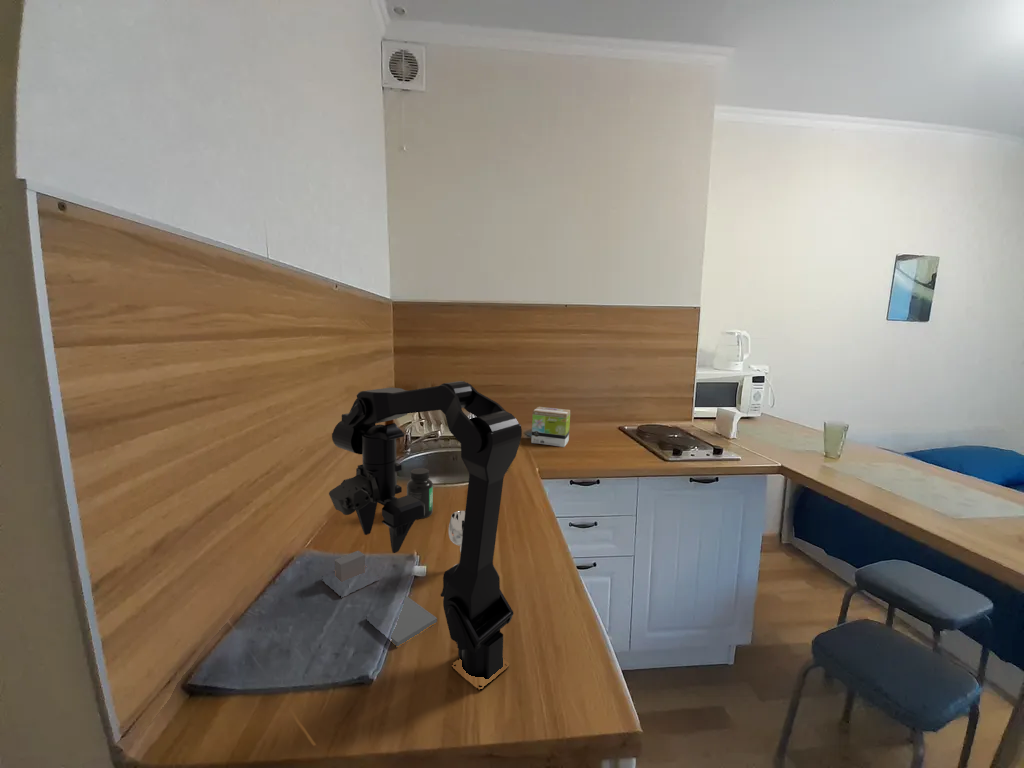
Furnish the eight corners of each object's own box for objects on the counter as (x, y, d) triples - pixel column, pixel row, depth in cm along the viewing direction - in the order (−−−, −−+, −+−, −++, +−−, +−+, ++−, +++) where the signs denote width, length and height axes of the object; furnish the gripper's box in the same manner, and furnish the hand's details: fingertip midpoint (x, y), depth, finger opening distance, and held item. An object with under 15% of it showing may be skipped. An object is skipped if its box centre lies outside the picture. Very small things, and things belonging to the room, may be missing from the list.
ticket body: (437, 624, 76) (437, 617, 76) (397, 649, 70) (397, 641, 70) (405, 600, 82) (405, 594, 82) (366, 621, 76) (366, 614, 76)
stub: (379, 580, 88) (379, 557, 87) (341, 598, 82) (340, 573, 81) (358, 565, 93) (358, 543, 93) (321, 581, 87) (320, 557, 87)
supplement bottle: (437, 514, 119) (437, 471, 117) (415, 521, 114) (415, 477, 113) (424, 506, 124) (424, 465, 122) (402, 512, 119) (401, 470, 118)
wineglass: (462, 558, 97) (462, 507, 96) (481, 568, 94) (482, 515, 92) (442, 569, 93) (442, 515, 91) (461, 580, 89) (462, 524, 88)
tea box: (530, 443, 190) (531, 410, 188) (536, 438, 199) (537, 406, 197) (565, 447, 186) (566, 413, 183) (569, 441, 195) (570, 408, 193)
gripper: (309, 457, 77) (313, 540, 80) (366, 485, 65) (368, 583, 68) (367, 445, 86) (368, 520, 88) (426, 468, 74) (426, 555, 76)
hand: (380, 542), depth 80 cm, fingers open, 9 cm apart
